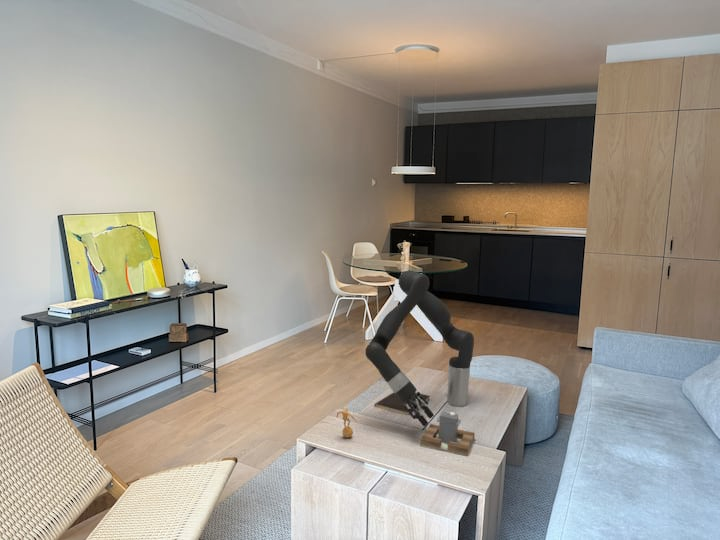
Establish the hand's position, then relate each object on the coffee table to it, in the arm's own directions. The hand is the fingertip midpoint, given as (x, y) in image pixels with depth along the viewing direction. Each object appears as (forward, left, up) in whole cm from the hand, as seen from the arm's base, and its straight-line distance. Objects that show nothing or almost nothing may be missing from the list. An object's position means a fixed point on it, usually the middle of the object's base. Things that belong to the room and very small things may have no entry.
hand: (429, 420), depth 192 cm
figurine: (+14, -28, -7) cm, 32 cm away
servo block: (0, +7, -6) cm, 10 cm away
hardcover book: (-30, -19, -8) cm, 37 cm away
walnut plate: (0, +7, -7) cm, 10 cm away
